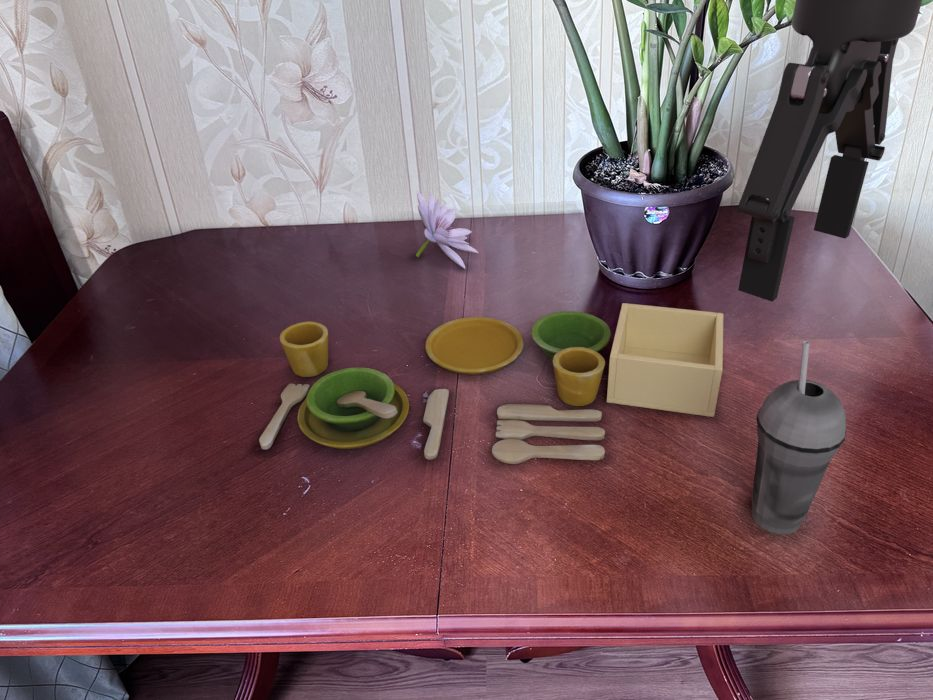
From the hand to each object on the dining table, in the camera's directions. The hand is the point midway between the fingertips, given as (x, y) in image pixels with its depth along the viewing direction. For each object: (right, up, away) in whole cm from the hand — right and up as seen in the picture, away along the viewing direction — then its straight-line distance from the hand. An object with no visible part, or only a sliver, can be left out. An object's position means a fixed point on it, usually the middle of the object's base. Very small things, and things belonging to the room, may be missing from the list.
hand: (796, 262), depth 59 cm
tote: (-3, -11, +30) cm, 32 cm away
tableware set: (-30, -12, +32) cm, 45 cm away
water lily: (-30, +8, +60) cm, 67 cm away
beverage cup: (+3, -23, +11) cm, 26 cm away
